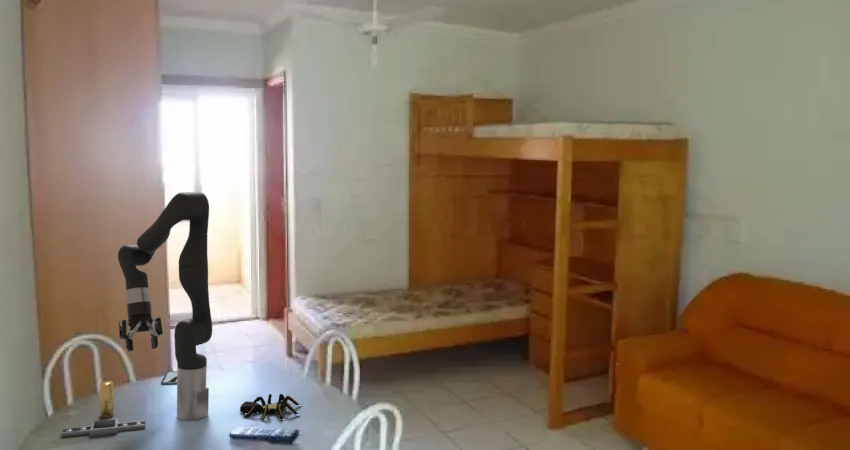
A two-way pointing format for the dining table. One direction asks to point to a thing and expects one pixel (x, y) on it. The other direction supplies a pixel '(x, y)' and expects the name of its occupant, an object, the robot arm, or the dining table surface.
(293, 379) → the dining table surface
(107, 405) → the brass pin
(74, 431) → the ball bearing track
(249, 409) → the toy
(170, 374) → the smartphone
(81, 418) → the dining table surface
